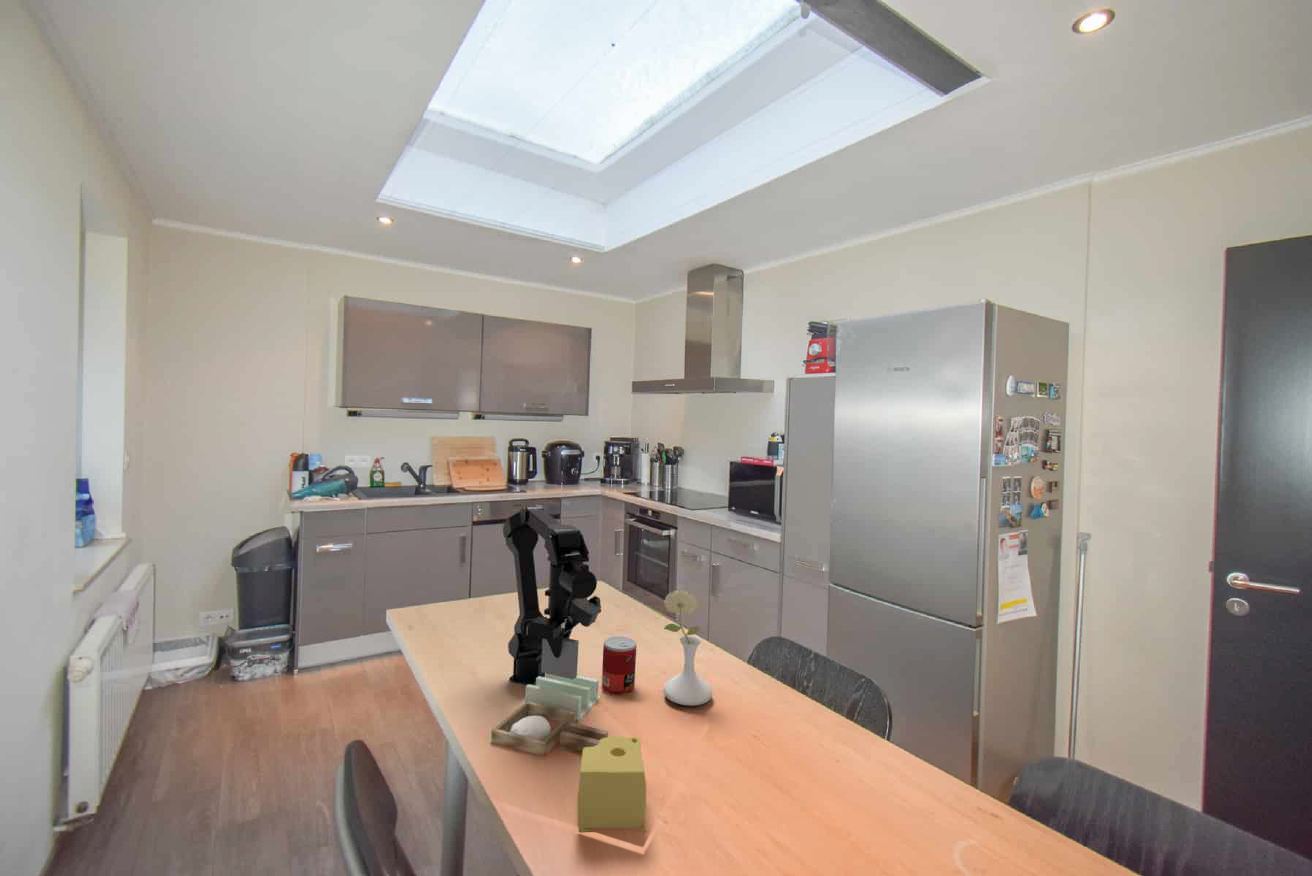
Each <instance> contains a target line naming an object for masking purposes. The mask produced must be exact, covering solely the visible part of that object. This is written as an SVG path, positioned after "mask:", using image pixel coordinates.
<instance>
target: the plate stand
mask: <svg viewBox="0 0 1312 876" xmlns="http://www.w3.org/2000/svg"><path fill="white" fill-rule="evenodd" d="M607 737H609V731H608V730H604V729H600V728H597V727H592V726H589V725H584V724H581V723H576V722H575V723H573V722H572V723H571V724H570V725H569V730H568V731H567V732H565V731H563V732H562V733H561V734H560V740H559V747H558V749H559V750H562V751H565V752H566V751H567V752H569V753H574V754H577V755H580V756H582V753H583V748H585V747H593V746H596V745H597V744H598V742H599V741H600V739H603V738H607Z"/></svg>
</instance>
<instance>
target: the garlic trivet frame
mask: <svg viewBox="0 0 1312 876" xmlns="http://www.w3.org/2000/svg"><path fill="white" fill-rule="evenodd" d="M522 704H523V705H522ZM522 704H521V705H522V706H519V707H518V708H517V709H516V710H514V711H513V712H512V713H511V714H510V715H509V716H507V717H506V718H505V719H503V720H502V721H501V722H500V723H499V724H498V725H496V726H495V727H494V728H492V729H491V739H490V740H491V742H492V743H495V744H498V745H502V746H506V747H508V748H514V749H517V750H519V751H520V750H521V751H524V752H527V753H531V754H534V755H538V756H541V757H544V756H545V755H546V754H547V753H549V751H550V750H551V749H552V748H553V747H554V746H555V745H556V744H557V743H558V742H560V734H561V733H562V732H563V731H565V732H569V725H570V724H571V723H572V722H573V723H576V720H575V716H576V713H575V712H571V711H567V710H563V709H559V708H554V707H550V706H546V705H542V704H538V703H534V702H530V701H527V702H525V701H524V702H523V703H522ZM527 715H530V716H542V717H544V718H545V719H546V720H547V719H548V720H551V721H555V722H559V724H558V725H557V726H556V727H554V729H553V730H551V732H550V734H549V735H548V736H547V737H546V738H545V739H542V740H536V739H533V738H529V737H525V736H521V735H518V734H514V733H510V730H511V727H512V725H513V724H514V723H516V722H518V721H519V720H521V719H522V718H525V717H527Z"/></svg>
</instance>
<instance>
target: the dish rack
mask: <svg viewBox="0 0 1312 876" xmlns="http://www.w3.org/2000/svg"><path fill="white" fill-rule="evenodd" d="M544 676H545V677H544ZM544 676H543V677H540V676H539V677H537V678H536V682H535V684H533V685H531V684H526V686H525V693H524V695H525V699H524V703H525V702H527V701H530V702H534V703H538V704H542V705H546V706H550V707H554V708H559V709H563V710H567V711H571V712H575V713H576V716H575V721H580V720H581V719H582V718H583V717H585V715H586V714H587V713H588V712H589V710H591V708H592V707H593V706H594V705H595V704H596V703H597V702H598V701H599V700H600V699H601V698H602V696H601V695H599V682H600V681H599V679H596V678H592V677H587V676H583V675H578V674H577V677H576V678H575V679H574V680H573V679H569V678H564V677H560V676H555V675H551V674H547V673H545V675H544ZM524 703H522V704H521V706H522V705H523V704H524ZM521 706H520V707H521Z"/></svg>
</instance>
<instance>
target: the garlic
mask: <svg viewBox="0 0 1312 876" xmlns="http://www.w3.org/2000/svg"><path fill="white" fill-rule="evenodd" d="M509 732H510V733H514V734H518V735H521V736H525V737H529V738H533V739H536V740H540V741H543V740H544V739H545V738H546V737H547V736H548V735H549V734H550V733H551V732H552V727H551V724H550V722H549V721H548V720H547V718H544V717H542V716H535V715H528V716H525V717H524V718H522V719H521V720H519V721H518V722H516V723H514V724H513V725H512V727H511V729H510V730H509Z"/></svg>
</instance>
